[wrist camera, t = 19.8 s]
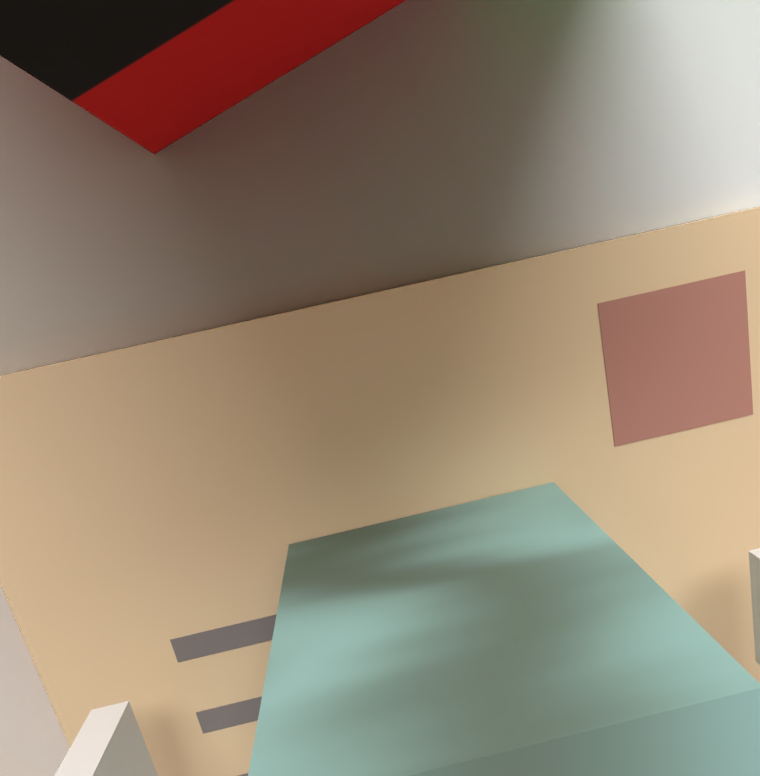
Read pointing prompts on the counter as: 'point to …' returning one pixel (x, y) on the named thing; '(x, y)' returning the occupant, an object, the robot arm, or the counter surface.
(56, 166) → the counter surface
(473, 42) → the counter surface
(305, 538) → the letter card
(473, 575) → the teal block
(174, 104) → the puzzle toy
